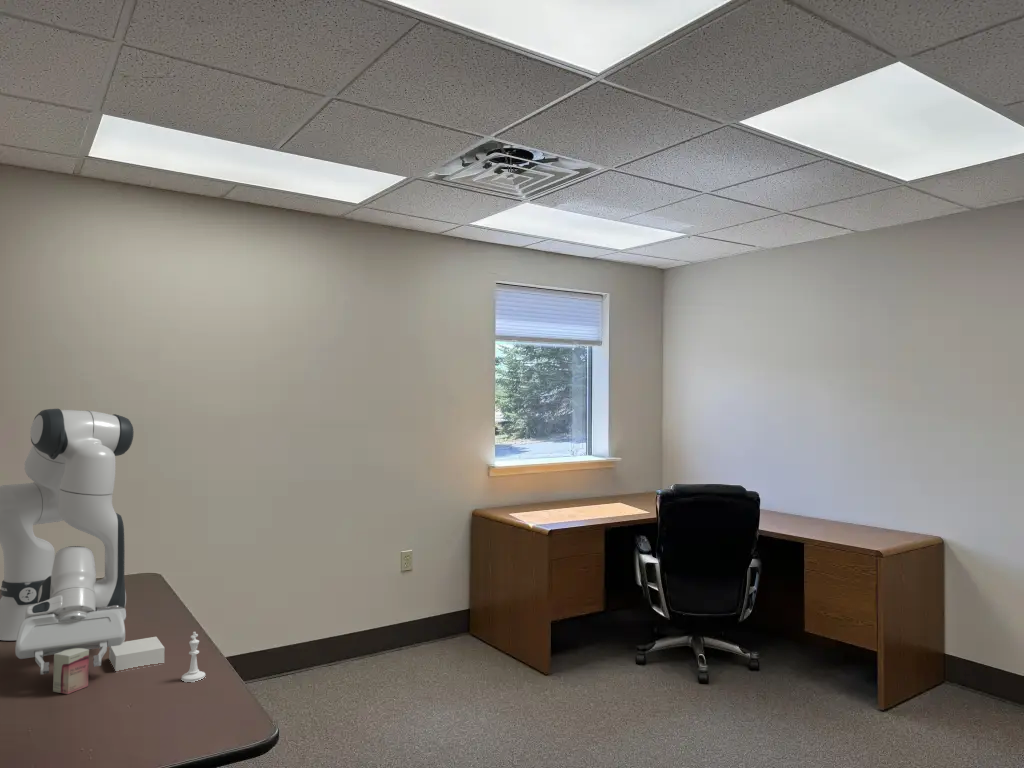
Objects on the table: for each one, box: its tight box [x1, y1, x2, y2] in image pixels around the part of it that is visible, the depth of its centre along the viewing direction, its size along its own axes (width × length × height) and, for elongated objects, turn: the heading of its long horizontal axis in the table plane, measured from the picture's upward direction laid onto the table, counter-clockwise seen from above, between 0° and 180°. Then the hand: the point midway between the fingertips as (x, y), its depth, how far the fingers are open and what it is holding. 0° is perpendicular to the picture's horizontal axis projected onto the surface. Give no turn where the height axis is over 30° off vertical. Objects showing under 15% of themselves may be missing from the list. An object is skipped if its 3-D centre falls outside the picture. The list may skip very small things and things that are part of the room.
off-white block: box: [108, 636, 166, 672], centre depth 171 cm, size 10×10×4 cm
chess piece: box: [180, 631, 206, 683], centre depth 161 cm, size 5×5×10 cm
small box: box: [52, 647, 90, 695], centre depth 154 cm, size 5×4×8 cm
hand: (71, 668), depth 154 cm, fingers open, 8 cm apart
